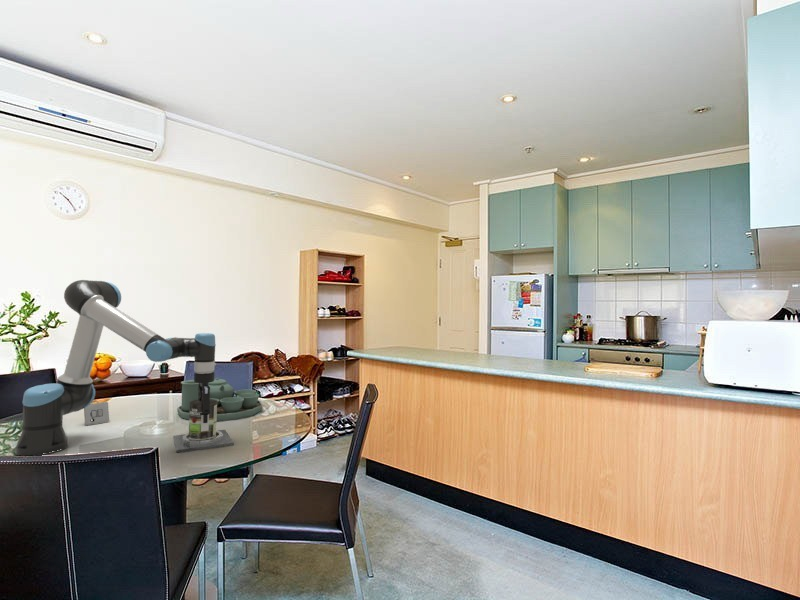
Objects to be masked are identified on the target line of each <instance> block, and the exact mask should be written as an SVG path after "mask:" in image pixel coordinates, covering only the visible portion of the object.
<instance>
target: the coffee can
mask: <svg viewBox="0 0 800 600" xmlns="http://www.w3.org/2000/svg"><path fill="white" fill-rule="evenodd" d="M217 402H218V401H217V400H213V399H210V414H209V431H202V432H201V415H200V413H202V402H201V400H200V401H199V400H194V401H191V402H190V416H189V420H188V422H189V423H188V426H189V427H188V433H189V439H191V440H204V439H211V438H214V437H216V431H217V422H218V421H217ZM205 411H207V410H205Z"/></svg>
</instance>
